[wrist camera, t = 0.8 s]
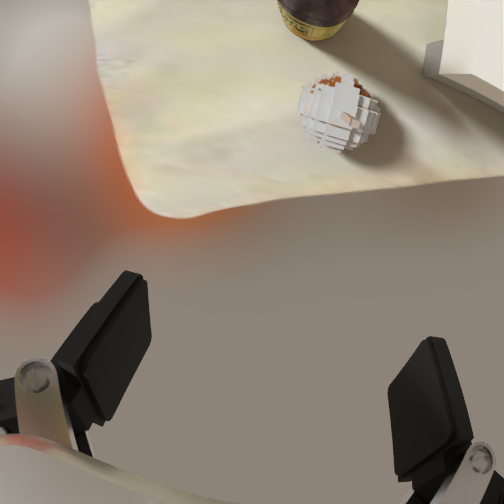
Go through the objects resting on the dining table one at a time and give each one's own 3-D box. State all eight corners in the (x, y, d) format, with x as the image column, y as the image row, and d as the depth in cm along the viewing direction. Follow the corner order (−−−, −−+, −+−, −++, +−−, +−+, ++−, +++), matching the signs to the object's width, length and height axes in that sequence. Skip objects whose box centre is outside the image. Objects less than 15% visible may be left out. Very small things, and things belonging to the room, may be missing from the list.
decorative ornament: (376, 87, 28) (424, 89, 16) (359, 150, 33) (392, 194, 20) (307, 67, 29) (308, 51, 16) (292, 132, 33) (283, 163, 20)
